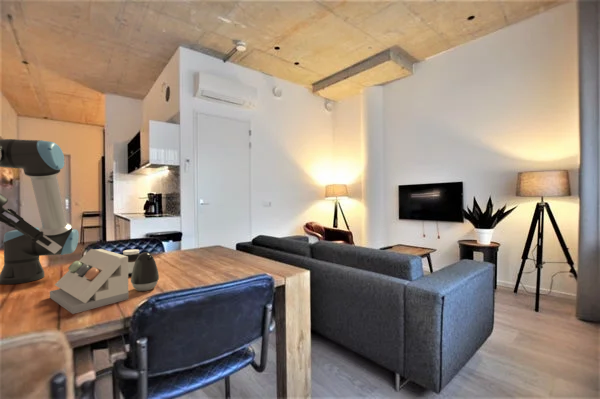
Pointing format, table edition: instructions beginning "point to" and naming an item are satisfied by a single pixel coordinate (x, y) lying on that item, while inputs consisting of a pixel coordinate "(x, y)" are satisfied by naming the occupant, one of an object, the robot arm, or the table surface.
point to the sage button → (75, 266)
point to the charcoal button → (83, 269)
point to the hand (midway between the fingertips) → (57, 250)
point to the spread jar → (131, 259)
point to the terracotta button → (92, 273)
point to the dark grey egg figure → (144, 273)
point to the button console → (94, 283)
